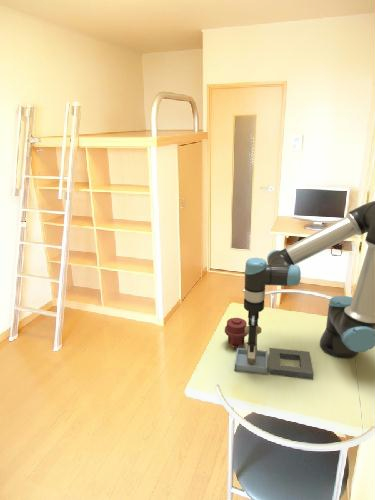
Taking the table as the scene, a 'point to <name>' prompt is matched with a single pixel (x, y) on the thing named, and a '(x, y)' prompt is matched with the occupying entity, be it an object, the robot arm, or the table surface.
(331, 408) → the table surface
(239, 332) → the mechanical component
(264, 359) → the tray
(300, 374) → the slotted grey plate
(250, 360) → the handle
